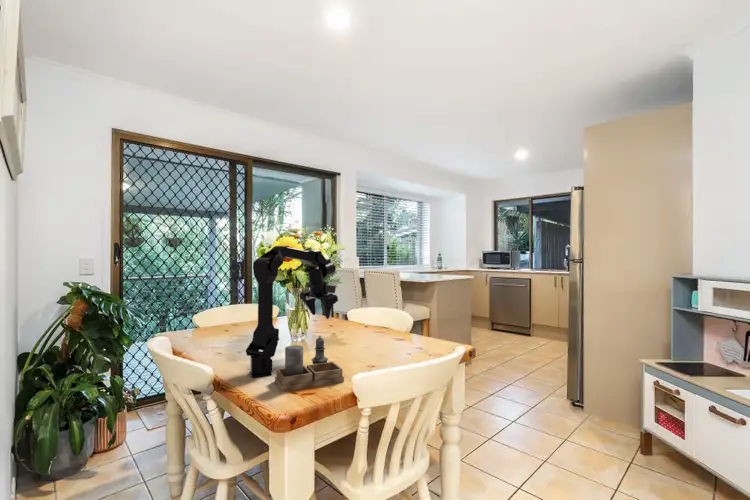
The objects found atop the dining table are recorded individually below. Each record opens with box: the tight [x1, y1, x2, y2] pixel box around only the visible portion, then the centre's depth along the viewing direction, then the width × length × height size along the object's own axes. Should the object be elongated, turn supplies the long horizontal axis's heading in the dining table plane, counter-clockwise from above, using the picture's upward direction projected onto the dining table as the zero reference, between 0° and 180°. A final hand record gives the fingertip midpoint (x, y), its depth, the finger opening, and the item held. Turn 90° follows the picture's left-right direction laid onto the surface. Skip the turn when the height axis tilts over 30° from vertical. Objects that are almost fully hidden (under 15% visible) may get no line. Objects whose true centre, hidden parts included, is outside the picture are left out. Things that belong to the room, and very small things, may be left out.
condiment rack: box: [274, 345, 345, 393], centre depth 122 cm, size 20×10×12 cm, turn 116°
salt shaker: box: [311, 335, 329, 364], centre depth 135 cm, size 6×6×12 cm
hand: (320, 316), depth 157 cm, fingers open, 9 cm apart
